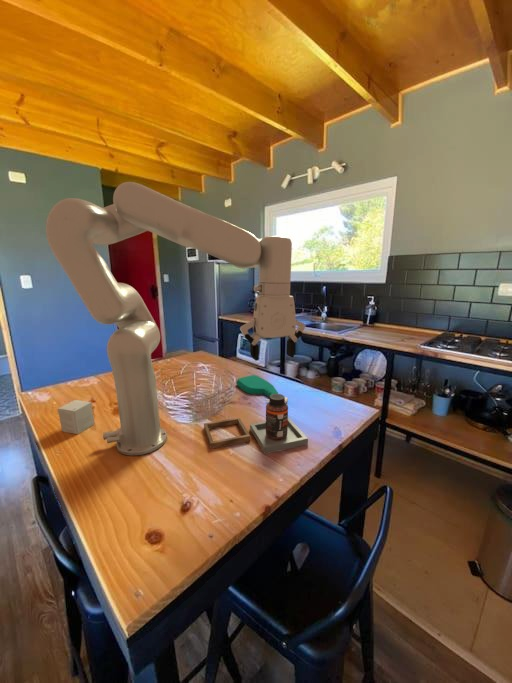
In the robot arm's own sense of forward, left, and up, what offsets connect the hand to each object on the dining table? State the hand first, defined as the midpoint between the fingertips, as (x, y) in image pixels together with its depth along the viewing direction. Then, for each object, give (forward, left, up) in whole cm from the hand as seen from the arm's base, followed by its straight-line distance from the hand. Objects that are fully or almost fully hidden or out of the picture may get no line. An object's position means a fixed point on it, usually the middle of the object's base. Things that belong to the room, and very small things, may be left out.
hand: (272, 357), depth 75 cm
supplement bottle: (+1, -1, -22) cm, 22 cm away
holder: (-12, +5, -23) cm, 26 cm away
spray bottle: (+7, +28, -23) cm, 37 cm away
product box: (-52, +23, -23) cm, 61 cm away
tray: (+1, -1, -23) cm, 23 cm away
